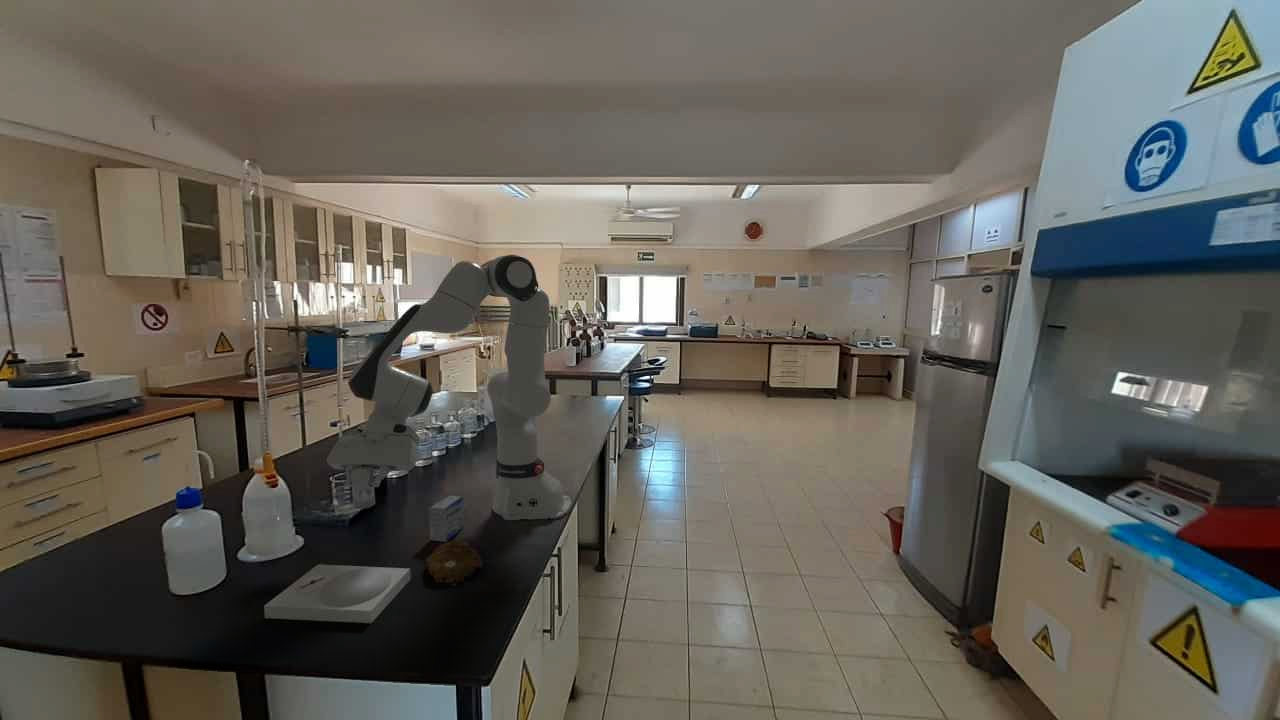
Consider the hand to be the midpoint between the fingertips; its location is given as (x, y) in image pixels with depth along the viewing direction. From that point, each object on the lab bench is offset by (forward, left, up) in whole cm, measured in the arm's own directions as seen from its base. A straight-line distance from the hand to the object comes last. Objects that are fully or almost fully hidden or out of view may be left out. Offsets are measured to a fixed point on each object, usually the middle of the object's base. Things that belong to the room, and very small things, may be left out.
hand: (361, 485), depth 110 cm
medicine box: (-16, -9, -16) cm, 24 cm away
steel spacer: (0, -1, -5) cm, 5 cm away
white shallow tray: (-7, +18, -16) cm, 25 cm away
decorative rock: (-24, +5, -16) cm, 29 cm away
